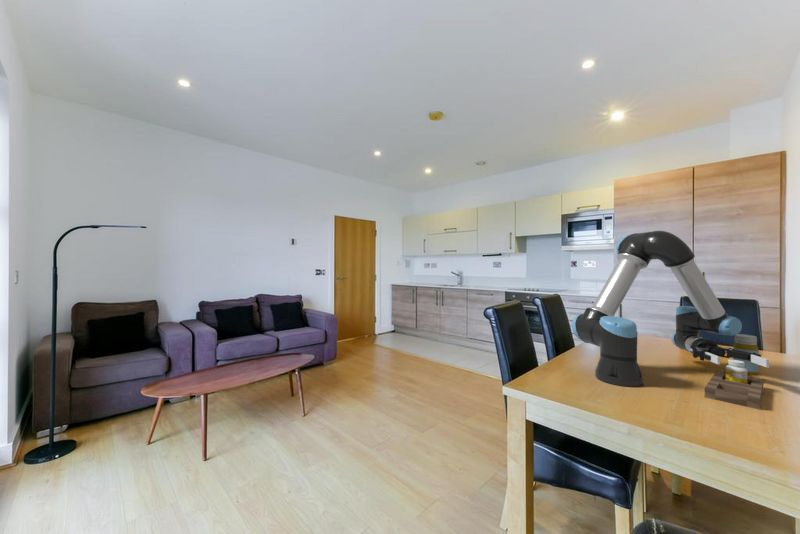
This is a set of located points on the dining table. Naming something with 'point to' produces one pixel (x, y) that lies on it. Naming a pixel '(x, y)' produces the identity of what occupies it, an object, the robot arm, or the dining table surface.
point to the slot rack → (735, 391)
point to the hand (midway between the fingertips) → (743, 362)
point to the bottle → (747, 345)
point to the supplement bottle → (736, 371)
